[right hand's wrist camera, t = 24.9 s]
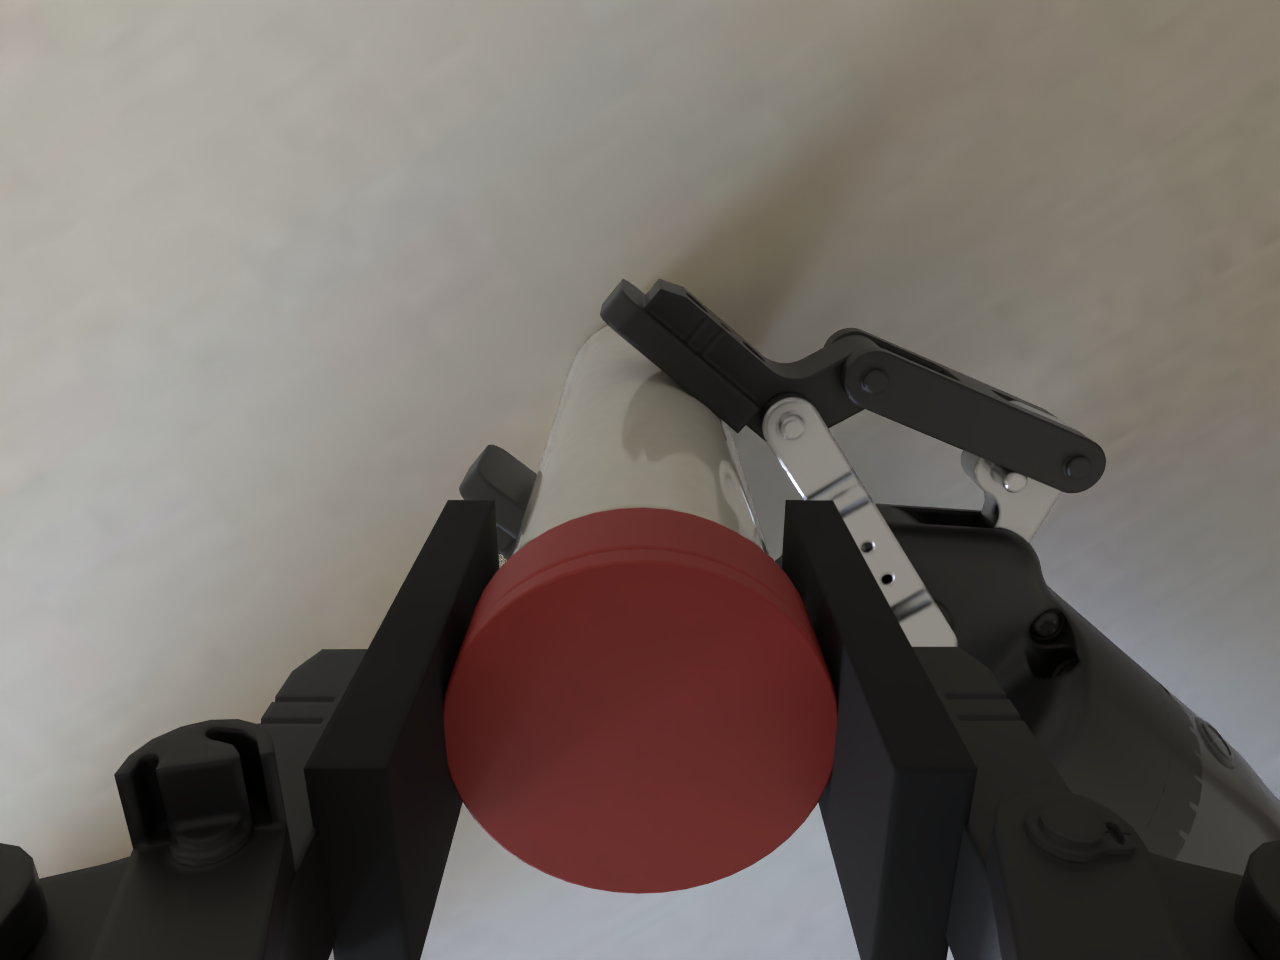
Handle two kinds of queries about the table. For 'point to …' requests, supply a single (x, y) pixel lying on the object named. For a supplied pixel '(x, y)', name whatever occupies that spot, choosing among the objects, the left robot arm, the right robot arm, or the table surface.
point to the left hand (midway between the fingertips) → (544, 385)
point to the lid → (640, 704)
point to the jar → (635, 448)
